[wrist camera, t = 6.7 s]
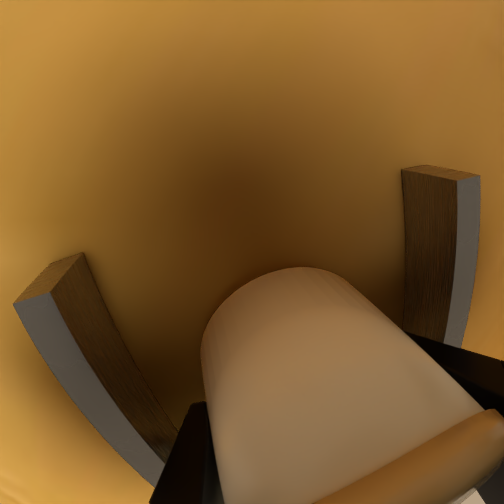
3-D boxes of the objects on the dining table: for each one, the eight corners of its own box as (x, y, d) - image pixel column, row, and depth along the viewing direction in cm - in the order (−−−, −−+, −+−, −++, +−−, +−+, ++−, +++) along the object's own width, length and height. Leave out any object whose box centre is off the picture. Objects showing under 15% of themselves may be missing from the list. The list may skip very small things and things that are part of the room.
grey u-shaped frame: (425, 165, 9) (492, 178, 6) (403, 422, 14) (427, 455, 11) (50, 263, 7) (3, 314, 5) (202, 493, 13) (209, 535, 10)
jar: (366, 238, 8) (566, 372, 2) (367, 376, 11) (463, 503, 4) (167, 295, 8) (174, 580, 1) (224, 425, 10) (267, 590, 4)
